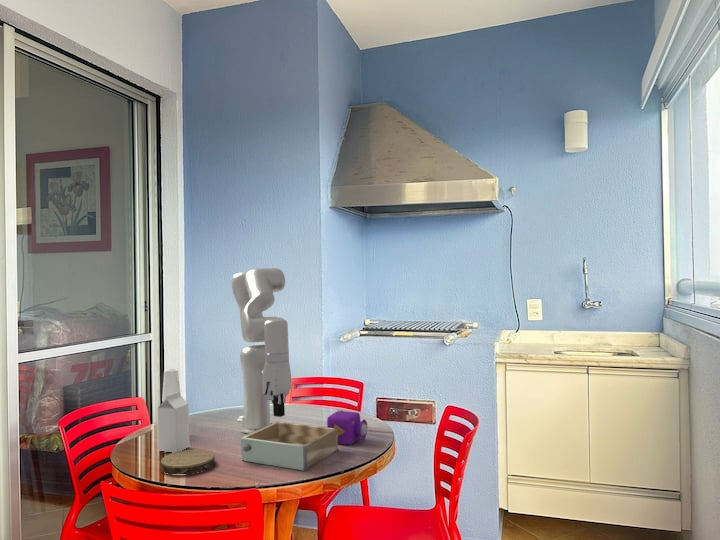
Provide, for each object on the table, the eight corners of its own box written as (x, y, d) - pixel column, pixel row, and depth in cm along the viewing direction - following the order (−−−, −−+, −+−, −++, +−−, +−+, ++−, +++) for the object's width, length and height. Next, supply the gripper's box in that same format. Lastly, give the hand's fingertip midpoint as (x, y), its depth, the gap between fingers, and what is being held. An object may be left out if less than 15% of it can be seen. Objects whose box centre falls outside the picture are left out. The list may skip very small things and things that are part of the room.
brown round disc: (163, 480, 161) (162, 469, 161) (159, 463, 175) (159, 453, 175) (218, 470, 167) (218, 460, 167) (210, 455, 182) (210, 446, 182)
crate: (243, 459, 176) (242, 437, 176) (277, 441, 193) (277, 421, 193) (307, 469, 165) (306, 446, 165) (338, 450, 182) (337, 428, 182)
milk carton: (189, 447, 189) (188, 392, 189) (176, 454, 183) (174, 396, 183) (172, 445, 192) (170, 391, 192) (158, 452, 185) (157, 395, 185)
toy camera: (365, 447, 184) (364, 417, 184) (325, 445, 187) (324, 416, 187) (371, 437, 195) (370, 409, 195) (333, 436, 198) (332, 408, 198)
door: (238, 461, 173) (238, 439, 173) (244, 459, 175) (243, 437, 175) (303, 472, 162) (302, 448, 162) (308, 469, 164) (307, 446, 164)
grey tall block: (167, 438, 200) (165, 372, 200) (160, 434, 205) (158, 370, 205) (185, 434, 205) (183, 369, 205) (177, 430, 210) (175, 367, 210)
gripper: (280, 354, 185) (282, 409, 184) (253, 361, 171) (255, 420, 171) (299, 355, 181) (301, 411, 181) (272, 361, 168) (275, 422, 168)
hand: (279, 415), depth 176 cm, fingers closed
